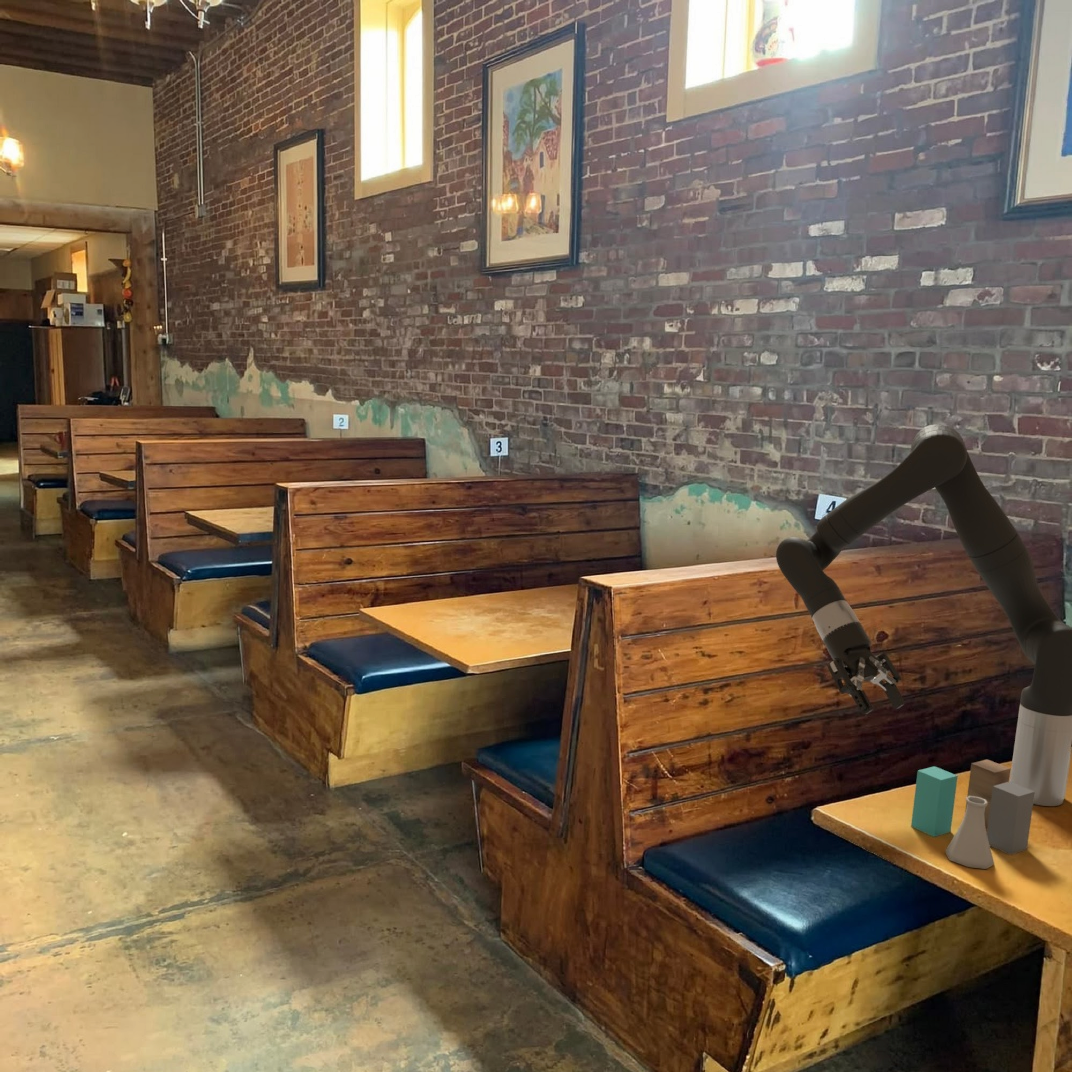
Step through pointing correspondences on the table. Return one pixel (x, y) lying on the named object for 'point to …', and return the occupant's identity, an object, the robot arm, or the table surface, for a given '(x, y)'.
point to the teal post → (934, 801)
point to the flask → (972, 837)
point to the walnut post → (986, 781)
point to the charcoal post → (1010, 817)
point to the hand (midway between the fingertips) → (884, 709)
